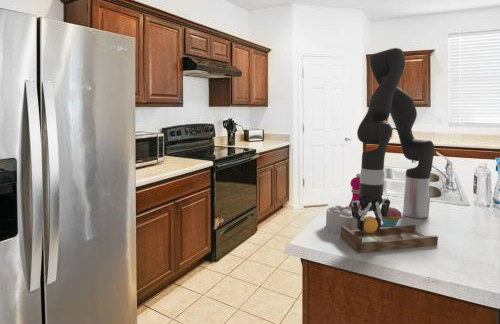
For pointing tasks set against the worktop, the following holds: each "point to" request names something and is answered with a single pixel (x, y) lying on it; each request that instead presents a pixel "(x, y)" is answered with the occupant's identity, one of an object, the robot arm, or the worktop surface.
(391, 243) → the wooden tray
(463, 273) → the worktop surface
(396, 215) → the cupcake
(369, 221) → the ball
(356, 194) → the pepper mill
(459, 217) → the worktop surface
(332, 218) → the lumpy-topped squat cylinder
